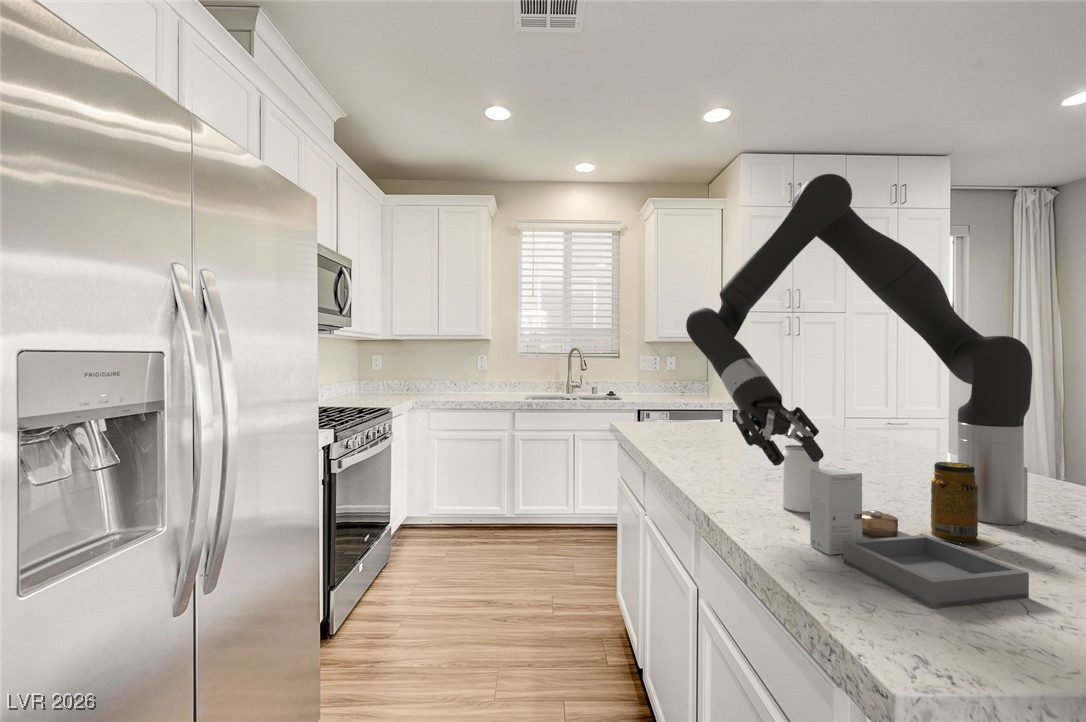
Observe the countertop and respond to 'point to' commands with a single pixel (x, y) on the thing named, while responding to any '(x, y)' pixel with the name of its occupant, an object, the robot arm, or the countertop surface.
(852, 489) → the skincare box
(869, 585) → the countertop surface
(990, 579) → the tray
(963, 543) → the condiment
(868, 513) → the service bell
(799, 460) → the can
